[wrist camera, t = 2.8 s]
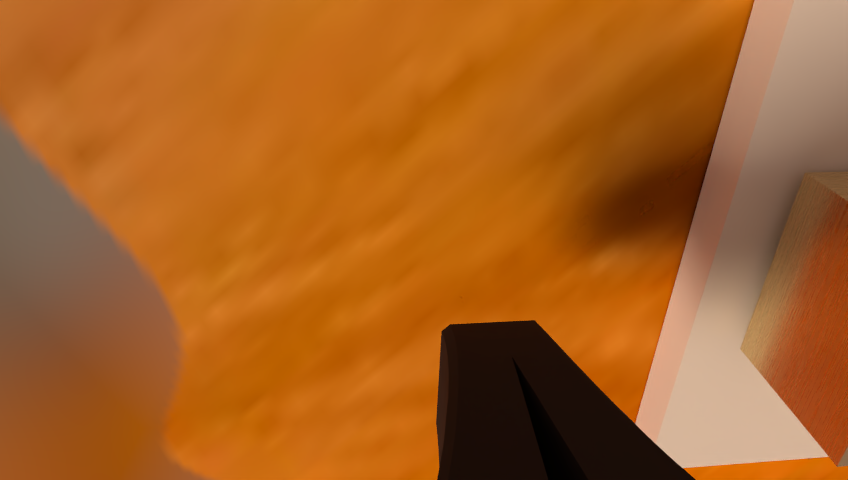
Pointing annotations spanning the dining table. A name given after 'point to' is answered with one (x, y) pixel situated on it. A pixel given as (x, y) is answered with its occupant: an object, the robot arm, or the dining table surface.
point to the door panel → (748, 239)
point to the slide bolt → (809, 313)
